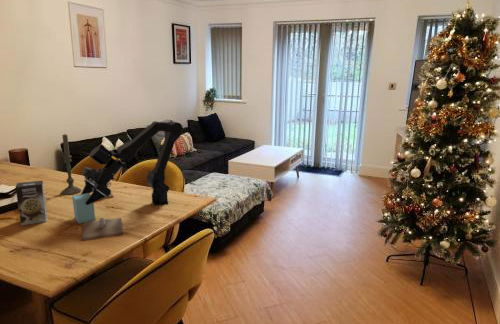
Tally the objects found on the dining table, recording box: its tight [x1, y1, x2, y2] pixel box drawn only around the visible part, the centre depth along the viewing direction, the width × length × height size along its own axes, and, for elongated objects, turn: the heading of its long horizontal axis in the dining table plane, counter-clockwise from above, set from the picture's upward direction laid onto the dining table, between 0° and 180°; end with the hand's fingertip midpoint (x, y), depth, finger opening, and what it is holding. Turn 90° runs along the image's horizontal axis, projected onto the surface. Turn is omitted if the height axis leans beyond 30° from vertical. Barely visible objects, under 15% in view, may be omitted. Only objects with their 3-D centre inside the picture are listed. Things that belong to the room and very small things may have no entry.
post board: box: [81, 217, 124, 241], centre depth 136 cm, size 14×14×5 cm
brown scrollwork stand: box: [100, 182, 114, 200], centre depth 169 cm, size 9×4×12 cm, turn 119°
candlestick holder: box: [61, 134, 82, 196], centre depth 174 cm, size 9×9×30 cm
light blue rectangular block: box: [71, 193, 96, 224], centre depth 144 cm, size 6×6×10 cm
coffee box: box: [15, 180, 48, 226], centre depth 141 cm, size 9×6×16 cm
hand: (83, 201), depth 144 cm, fingers open, 9 cm apart
